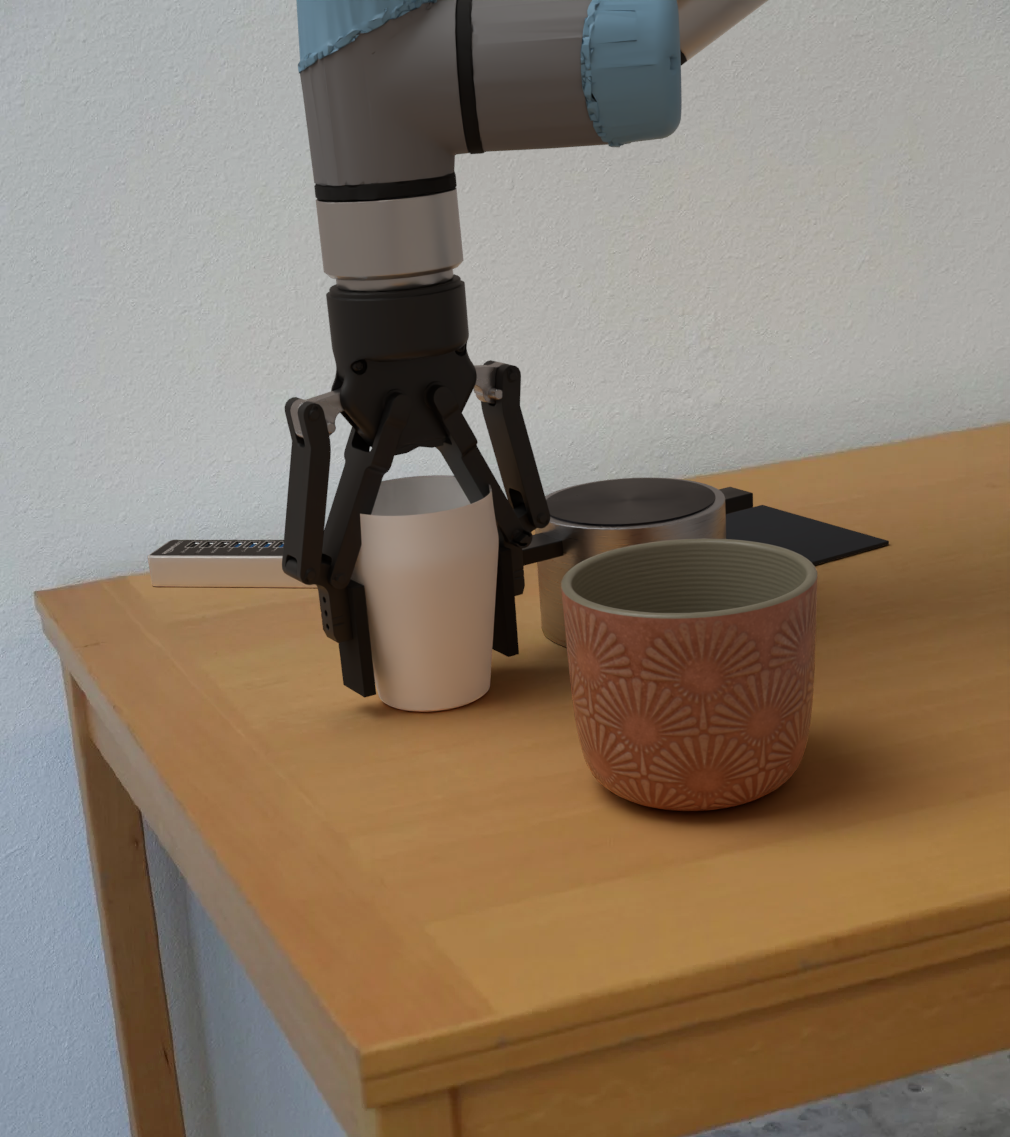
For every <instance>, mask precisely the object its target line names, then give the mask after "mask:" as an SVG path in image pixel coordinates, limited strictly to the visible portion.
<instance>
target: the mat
mask: <svg viewBox="0 0 1010 1137" xmlns="http://www.w3.org/2000/svg"><path fill="white" fill-rule="evenodd" d="M726 539H732V540H743V541H752V542H759V543H764V544H770V545H774V546H778V547H782V548H785V549H788V550H791V551H794V552H796V553H798V554H800V555H802V556H804V557H805V558H807V559H808V560H809V561H811V562H812V564H813V565H814V566H818V565H822V564H826V563H828V562H832V561H835V560H839V559H842V558H846V557H849V556H854V555H858V554H860V553H864V552H868V551H872V550H875V549H878V548H882V547H885V546H889V545H890V541H889V540H888V539H884V538H880V537H877V536H875V535H874V536H873V535H871V534H867V533H862V532H860V531H855V530H852V529H849V528H845V527H842V526H838V525H836V524H835V525H834V524H831V523H828V522H824V521H820V520H817V519H814V518H810V517H807V516H803V515H800V514H797V513H793V512H788V511H786V510H782V509H779V508H775V507H771V506H768V505H764V504H759V505H755V506H753V507H752V508H748V509H745V510H741V511H737V512H733V513H729V514H726Z"/></svg>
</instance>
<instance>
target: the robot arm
mask: <svg viewBox="0 0 1010 1137" xmlns="http://www.w3.org/2000/svg"><path fill="white" fill-rule="evenodd" d="M295 1H296V17H297V18H296V19H297V33H298V34H297V36H298V50H299V61H298V63H297V71H298V74H299V77H300V84H301V92H302V98H303V104H304V105H303V107H304V114H305V122H306V130H307V137H308V145H309V151H310V152H309V153H310V161H311V169H312V177H313V183H314V185H313V186H314V187H313V188H314V197H315V198H316V199H315V206H316V207H315V208H316V214H317V215H316V216H317V224H318V225H317V226H318V233H319V240H320V241H319V243H320V248H321V249H320V250H321V259H322V269H323V273H324V274H325V275H327V277H329V278H330V279H334V280H335V284H333V285H331V286H330V287H329V288H328V292H327V293H325V297H326V298H325V299H326V307H327V315H328V324H329V325H328V326H329V334H330V341H331V350H332V354H333V357H334V358H333V359H334V362H335V376H334V380H333V382H332V385H331V389H330V391H327V392H324V393H322V394H318V395H316V396H315V395H314V396H312V397H309V398H306V399H304V398H300V397H297V396H293V397H290V398H288V399H287V401H286V402H285V404H284V415H285V418H286V423H287V426H288V431H289V434H290V435H289V436H290V439H291V448H290V449H291V450H290V459H289V460H290V462H289V471H288V472H289V473H288V485H287V498H286V507H285V508H286V509H285V521H284V534H283V540H284V545H283V557H282V570H283V572H284V573H285V574H287V575H288V576H290V577H292V578H294V579H296V580H298V581H300V582H302V583H304V584H306V585H313V584H314V585H316V586H317V588H316V589H317V592H318V600H319V601H318V602H319V608H320V616H321V617H320V618H321V626H322V630H323V632H324V634H325V636H326V637H327V638H328V639H330V640H332V641H333V642H335V643H337V644H338V650H339V658H340V668H341V678H342V684H343V686H345V687H346V688H348V689H349V690H351V691H352V692H354V693H356V694H357V695H360V696H361V697H362V698H369V697H372V696H375V695H377V687H376V684H375V678H374V669H373V660H372V651H371V642H370V633H369V624H368V615H367V606H366V597H365V588H364V585H362V584H360V583H358V582H355V581H353V580H351V577H352V573H353V570H354V567H355V564H356V561H357V558H358V554H359V551H360V548H361V545H362V541H361V522H360V514H366V515H371V513H372V510H373V507H374V504H375V501H376V497H377V494H378V491H379V488H380V485H381V482H382V481H383V478H384V476H385V475H386V474H387V473H388V472H390V469H392V468H391V467H392V465H393V462H394V458H395V456H400V455H405V454H408V453H410V452H412V451H414V450H416V449H417V448H429V449H430V448H431V449H433V448H435V449H437V450H438V451H439V453H440V454H441V456H442V458H443V459H444V461H445V463H446V465H447V466H448V468H449V469H450V471H451V474H452V475H453V476H455V478H456V480H457V481H458V483H459V485H460V486H461V488H462V490H463V492H464V493H465V495H466V497H467V498H468V500H469V502H470V503H471V504H472V503H474V502H477V501H479V500H481V499H483V498H485V497H486V496H487V495H488V494H489V493H490V490H489V485H490V486H491V490H492V498H493V506H494V513H495V520H496V526H497V531H498V537H499V547H498V565H497V581H496V598H495V614H494V630H493V646H492V651H495V652H497V653H498V654H501V655H503V656H504V657H507V658H511V657H513V656H518V655H520V648H519V636H518V635H519V634H518V633H519V632H518V622H517V608H516V597H517V596H521V595H523V594H524V590H525V587H526V581H525V570H524V569H525V568H524V566H523V552H522V548H526V547H528V546H529V545H530V544H531V541H532V535H533V533H532V532H533V531H535V529H536V528H540V529H542V528H545V527H546V526H547V525H548V524H549V522H550V512H549V509H548V505H547V501H546V498H545V496H546V495H545V491H544V487H543V484H542V480H541V477H540V473H539V469H538V466H537V461H536V458H535V455H534V451H533V448H532V443H531V440H530V438H529V436H530V435H529V433H528V430H527V425H526V422H525V419H524V415H523V412H522V407H521V392H522V391H521V388H522V386H521V385H522V372H521V370H520V368H519V367H518V366H517V365H513V364H509V363H504V362H500V361H496V360H490V359H489V360H487V361H485V362H484V363H483V364H478V365H477V364H474V363H473V361H472V360H471V358H470V356H469V353H468V342H469V337H470V330H469V318H468V306H467V294H466V283H465V281H464V280H462V278H461V276H459V275H458V274H454V269H457V268H458V267H459V266H460V265H461V264H462V263H464V252H463V251H464V250H463V240H462V230H461V221H460V210H459V199H458V189H457V186H458V185H457V184H458V183H457V174H456V172H455V168H456V167H455V165H456V163H455V162H456V155H457V156H458V155H465V154H470V155H479V154H480V155H481V154H484V153H486V152H489V153H490V152H508V151H526V150H547V149H549V150H550V149H561V148H562V149H563V148H565V149H566V148H578V147H580V148H581V147H590V146H591V147H592V146H593V147H594V146H606V145H608V147H610V148H620V147H622V146H624V145H629V144H631V143H636V142H645V141H653V140H655V141H656V140H661V139H665V138H668V137H670V136H672V135H673V134H674V133H675V132H676V131H677V130H678V128H679V126H680V124H681V121H682V109H683V108H682V107H683V106H682V104H683V103H682V97H683V96H682V66H683V65H684V64H685V63H687V62H688V61H690V60H691V59H692V58H693V57H695V56H696V55H698V54H699V53H700V52H702V51H703V50H704V49H705V48H707V47H708V46H710V45H711V44H712V43H714V41H716V40H718V39H719V38H720V37H722V36H723V35H724V34H726V33H727V32H728V31H729V30H731V29H732V28H733V27H735V26H736V25H738V24H739V23H740V22H742V21H743V20H744V19H746V18H747V17H748V16H750V15H751V14H753V12H755V11H756V10H758V9H759V8H760V7H761V6H763V5H764V4H766V3H767V2H768V1H769V0H295ZM472 393H474V394H475V397H476V398H477V400H478V401H480V406H481V411H482V416H483V419H484V423H485V426H486V429H487V433H488V436H489V440H490V444H491V446H492V447H491V448H492V450H493V453H494V457H495V461H496V464H497V468H498V471H499V475H500V478H501V481H502V485H503V489H504V491H503V489H502V487H501V486H500V483H499V482H498V480H497V478H496V477H495V475H494V473H493V472H492V470H491V467H490V466H489V465H488V462H487V461H486V458H485V457H484V456H483V454H482V452H481V450H480V449H479V446H478V443H479V442H478V438H477V437H476V435H475V433H474V431H473V430H472V428H471V426H470V425H469V423H468V421H467V419H466V417H465V415H464V414H463V412H464V410H465V407H466V405H467V403H468V401H469V400H470V397H471V395H472ZM339 414H340V415H341V416H342V418H344V419H345V420H346V421H347V423H348V424H349V425H350V426H351V428H350V432H349V435H348V438H347V441H346V445H345V448H344V452H343V458H344V465H343V468H342V472H341V475H340V478H339V481H338V485H337V488H336V491H335V493H334V494H335V495H334V497H333V501H332V503H331V508H330V509H329V514H328V517H327V520H326V513H327V502H328V492H329V481H330V468H331V457H332V456H331V455H332V454H331V453H332V449H331V448H332V447H331V435H332V434H333V433H335V431H336V429H337V426H336V419H337V418H338V415H339Z"/></svg>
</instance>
